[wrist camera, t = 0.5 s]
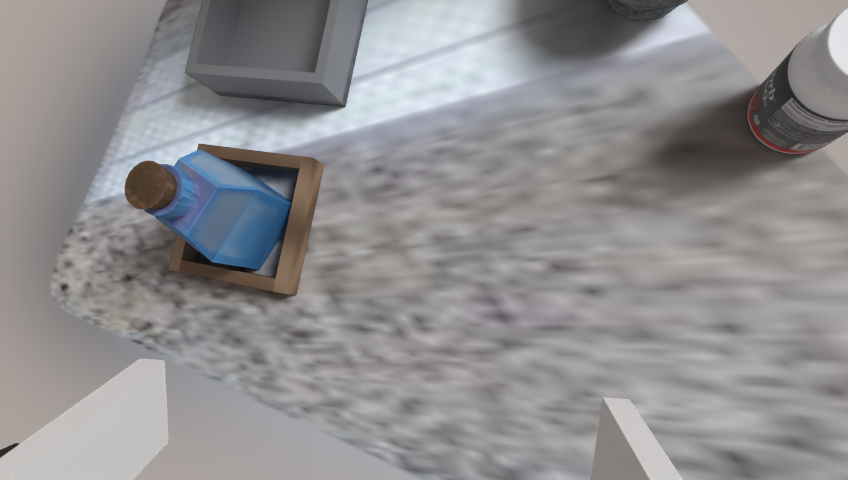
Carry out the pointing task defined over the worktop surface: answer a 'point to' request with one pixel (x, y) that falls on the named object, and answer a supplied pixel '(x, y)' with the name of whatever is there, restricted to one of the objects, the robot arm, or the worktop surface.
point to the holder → (295, 232)
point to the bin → (278, 48)
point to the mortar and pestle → (644, 8)
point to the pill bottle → (805, 93)
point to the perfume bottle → (212, 207)
